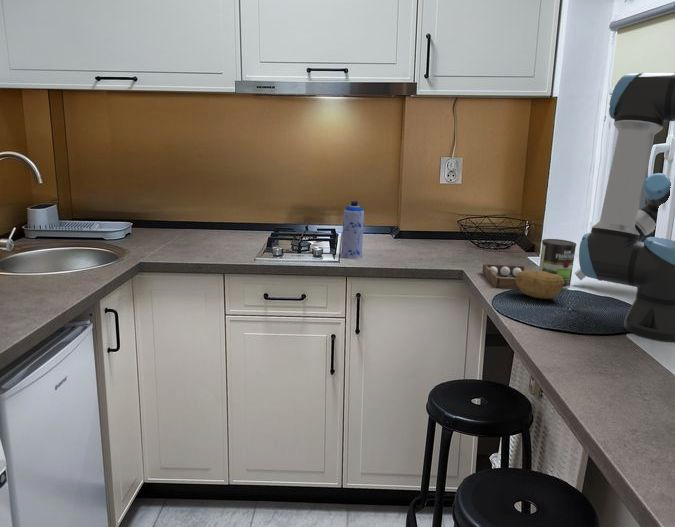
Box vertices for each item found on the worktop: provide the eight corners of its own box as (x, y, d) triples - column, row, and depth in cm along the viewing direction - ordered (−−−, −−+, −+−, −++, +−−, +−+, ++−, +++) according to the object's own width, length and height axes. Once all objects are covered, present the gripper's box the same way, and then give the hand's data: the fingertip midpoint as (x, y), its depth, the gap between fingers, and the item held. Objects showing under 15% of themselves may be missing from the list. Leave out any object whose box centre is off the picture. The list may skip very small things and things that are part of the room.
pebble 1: (498, 276, 209) (499, 267, 208) (489, 276, 209) (490, 267, 208) (496, 274, 212) (497, 265, 211) (487, 273, 212) (488, 265, 211)
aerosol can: (356, 253, 233) (359, 199, 228) (365, 258, 226) (369, 203, 221) (337, 254, 230) (340, 200, 225) (346, 259, 223) (349, 203, 218)
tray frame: (540, 289, 195) (541, 280, 194) (496, 287, 194) (497, 278, 194) (522, 274, 213) (523, 265, 213) (482, 272, 213) (483, 263, 212)
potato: (520, 289, 194) (523, 264, 192) (566, 299, 185) (569, 273, 183) (507, 295, 186) (510, 269, 184) (554, 306, 178) (558, 279, 176)
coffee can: (577, 288, 198) (583, 245, 195) (548, 289, 196) (554, 245, 192) (557, 280, 208) (563, 238, 205) (530, 280, 205) (535, 238, 202)
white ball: (522, 277, 209) (523, 268, 208) (513, 277, 209) (514, 268, 208) (519, 275, 212) (520, 266, 211) (510, 275, 212) (511, 266, 211)
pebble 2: (510, 277, 209) (511, 267, 208) (501, 276, 209) (502, 267, 208) (508, 274, 212) (509, 265, 211) (498, 274, 212) (499, 265, 211)
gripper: (654, 240, 192) (592, 290, 196) (634, 232, 205) (577, 279, 209) (639, 222, 191) (577, 273, 195) (621, 215, 204) (563, 263, 207)
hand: (577, 276), depth 202 cm, fingers closed
